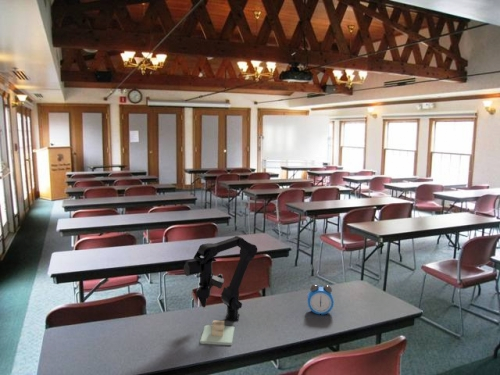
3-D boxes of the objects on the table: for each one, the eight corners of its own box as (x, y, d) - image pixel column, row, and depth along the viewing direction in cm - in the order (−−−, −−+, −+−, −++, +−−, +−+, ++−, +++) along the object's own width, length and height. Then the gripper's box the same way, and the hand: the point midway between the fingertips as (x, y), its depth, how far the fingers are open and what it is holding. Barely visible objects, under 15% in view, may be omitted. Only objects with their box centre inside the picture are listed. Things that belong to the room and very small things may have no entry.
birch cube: (213, 330, 177) (213, 320, 177) (224, 330, 177) (224, 320, 176) (211, 336, 173) (211, 325, 172) (222, 336, 172) (223, 326, 172)
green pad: (205, 327, 182) (205, 325, 182) (234, 328, 182) (234, 326, 181) (200, 343, 168) (200, 341, 168) (231, 345, 168) (231, 342, 168)
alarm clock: (307, 314, 198) (308, 286, 196) (307, 308, 204) (308, 282, 202) (332, 316, 197) (334, 288, 194) (331, 310, 203) (333, 283, 200)
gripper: (220, 279, 170) (220, 312, 172) (225, 265, 188) (224, 295, 190) (195, 278, 170) (195, 311, 172) (202, 264, 189) (202, 294, 191)
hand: (205, 302), depth 181 cm, fingers open, 9 cm apart
